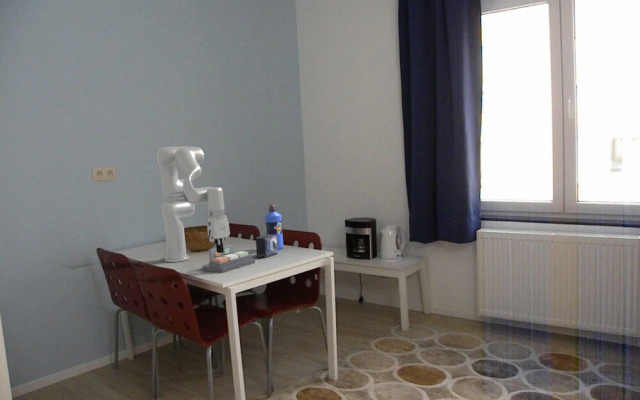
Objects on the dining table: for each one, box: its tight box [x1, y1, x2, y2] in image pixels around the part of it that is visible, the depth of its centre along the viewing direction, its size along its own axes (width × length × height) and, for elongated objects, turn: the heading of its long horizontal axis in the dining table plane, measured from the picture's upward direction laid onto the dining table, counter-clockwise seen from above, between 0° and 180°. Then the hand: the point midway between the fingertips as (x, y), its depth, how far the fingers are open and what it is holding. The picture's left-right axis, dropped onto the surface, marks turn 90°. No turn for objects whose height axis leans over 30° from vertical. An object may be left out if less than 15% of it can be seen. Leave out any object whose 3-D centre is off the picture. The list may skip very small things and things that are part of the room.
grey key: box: [223, 254, 238, 260], centre depth 243 cm, size 5×5×2 cm
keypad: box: [202, 244, 256, 274], centre depth 243 cm, size 14×21×9 cm, turn 143°
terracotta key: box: [212, 257, 228, 263], centre depth 237 cm, size 5×5×2 cm
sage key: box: [233, 250, 249, 257], centre depth 248 cm, size 5×5×2 cm
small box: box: [255, 234, 279, 259], centre depth 263 cm, size 11×6×10 cm, turn 148°
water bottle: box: [264, 203, 284, 251], centre depth 279 cm, size 9×9×25 cm
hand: (220, 252), depth 237 cm, fingers closed
